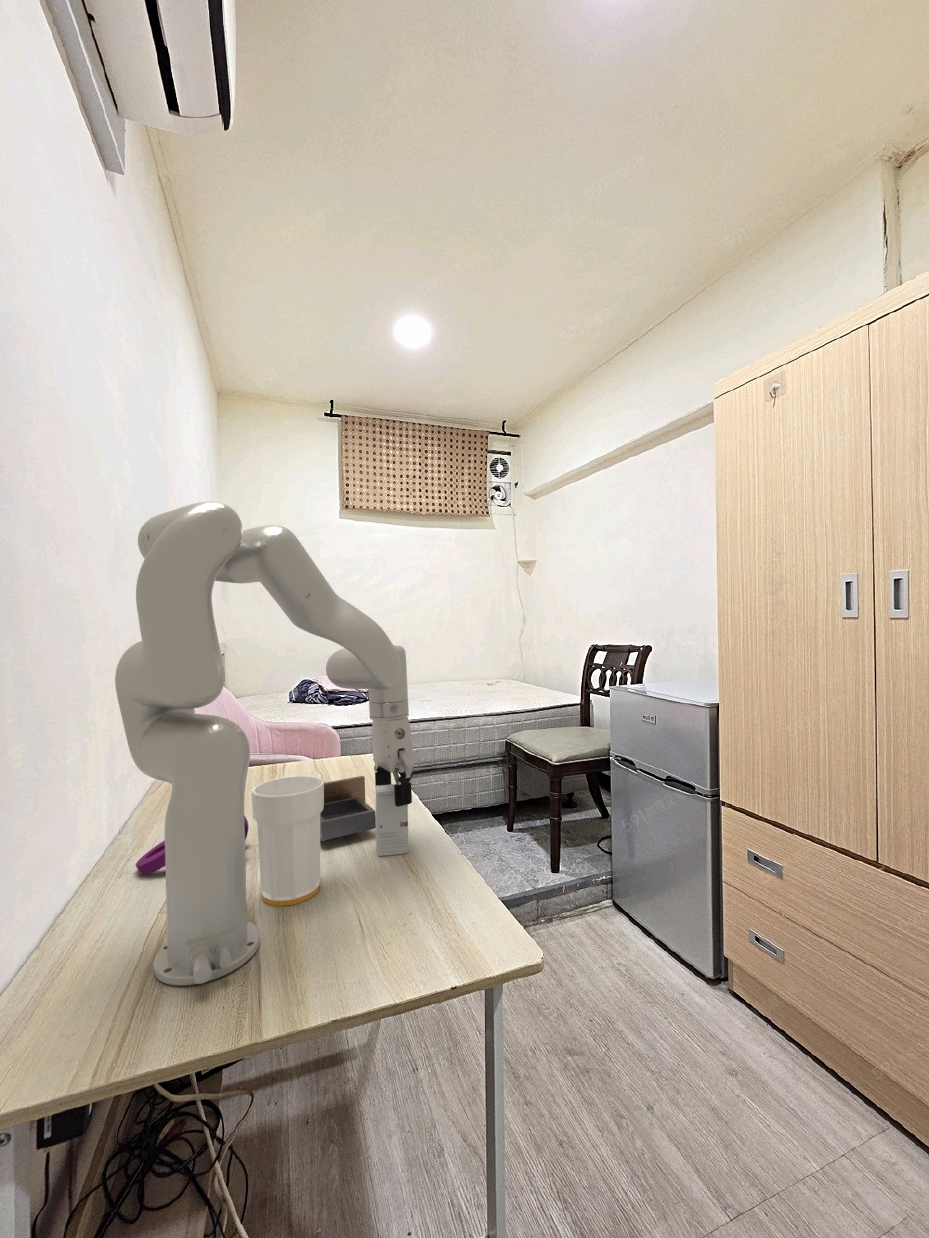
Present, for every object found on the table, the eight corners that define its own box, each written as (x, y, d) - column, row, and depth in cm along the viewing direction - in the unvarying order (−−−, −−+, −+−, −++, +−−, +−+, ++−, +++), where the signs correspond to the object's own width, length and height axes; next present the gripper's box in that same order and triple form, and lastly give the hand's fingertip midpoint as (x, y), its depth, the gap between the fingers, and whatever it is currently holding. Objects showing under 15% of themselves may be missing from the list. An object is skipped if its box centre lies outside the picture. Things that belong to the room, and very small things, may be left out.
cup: (340, 888, 85) (337, 782, 85) (275, 918, 76) (272, 801, 77) (304, 868, 92) (302, 771, 93) (242, 893, 84) (239, 787, 84)
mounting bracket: (153, 913, 90) (252, 853, 95) (128, 874, 89) (229, 814, 94) (166, 888, 99) (255, 834, 104) (143, 852, 98) (235, 799, 103)
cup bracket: (387, 834, 106) (386, 791, 107) (309, 854, 98) (307, 807, 98) (364, 814, 119) (362, 775, 119) (292, 830, 110) (291, 788, 111)
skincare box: (377, 857, 96) (375, 792, 96) (375, 847, 100) (373, 785, 101) (410, 853, 97) (408, 788, 98) (407, 843, 102) (405, 782, 102)
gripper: (426, 712, 94) (430, 806, 94) (389, 701, 109) (393, 782, 109) (388, 718, 90) (392, 815, 90) (355, 706, 105) (359, 789, 105)
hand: (393, 797), depth 100 cm, fingers open, 9 cm apart
